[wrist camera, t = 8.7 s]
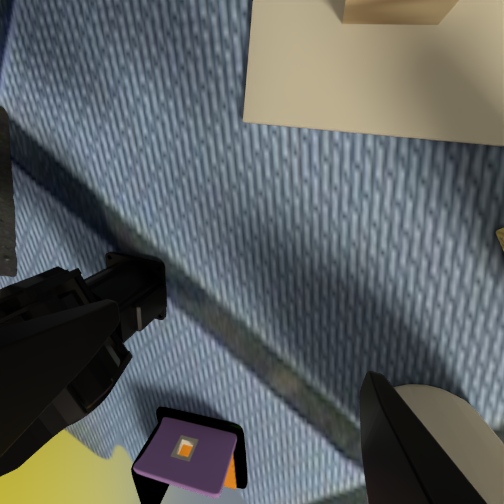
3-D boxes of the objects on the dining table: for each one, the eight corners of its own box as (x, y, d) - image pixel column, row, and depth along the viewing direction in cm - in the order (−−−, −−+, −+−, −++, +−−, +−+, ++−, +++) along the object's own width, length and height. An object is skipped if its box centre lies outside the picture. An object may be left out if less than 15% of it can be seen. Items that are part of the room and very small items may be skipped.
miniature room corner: (156, 402, 33) (117, 459, 27) (244, 422, 30) (223, 492, 24) (170, 462, 37) (139, 524, 31) (249, 485, 34) (232, 559, 28)
